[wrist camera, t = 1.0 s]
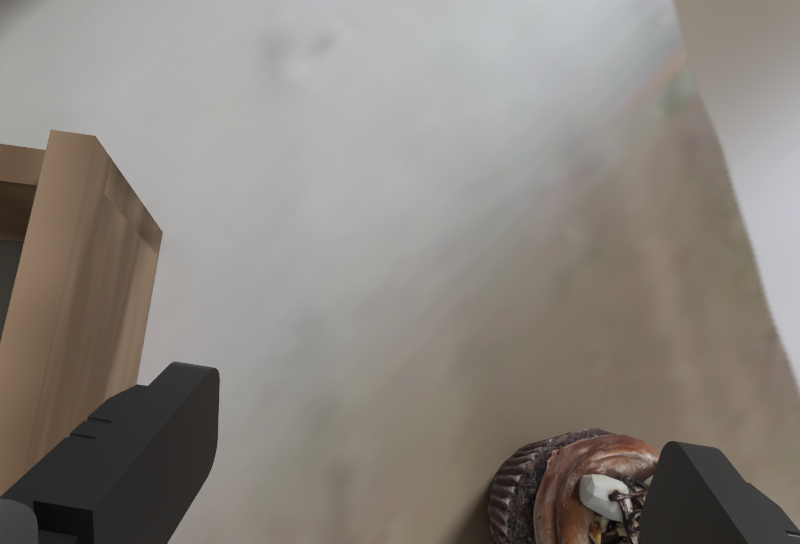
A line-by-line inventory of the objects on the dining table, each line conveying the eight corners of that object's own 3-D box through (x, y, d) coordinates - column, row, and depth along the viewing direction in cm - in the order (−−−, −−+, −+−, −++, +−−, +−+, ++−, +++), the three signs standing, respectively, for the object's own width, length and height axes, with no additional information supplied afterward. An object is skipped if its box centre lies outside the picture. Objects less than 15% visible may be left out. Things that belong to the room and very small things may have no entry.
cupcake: (454, 450, 32) (527, 471, 23) (594, 409, 35) (713, 412, 25) (497, 623, 31) (595, 724, 21) (641, 567, 33) (788, 634, 23)
